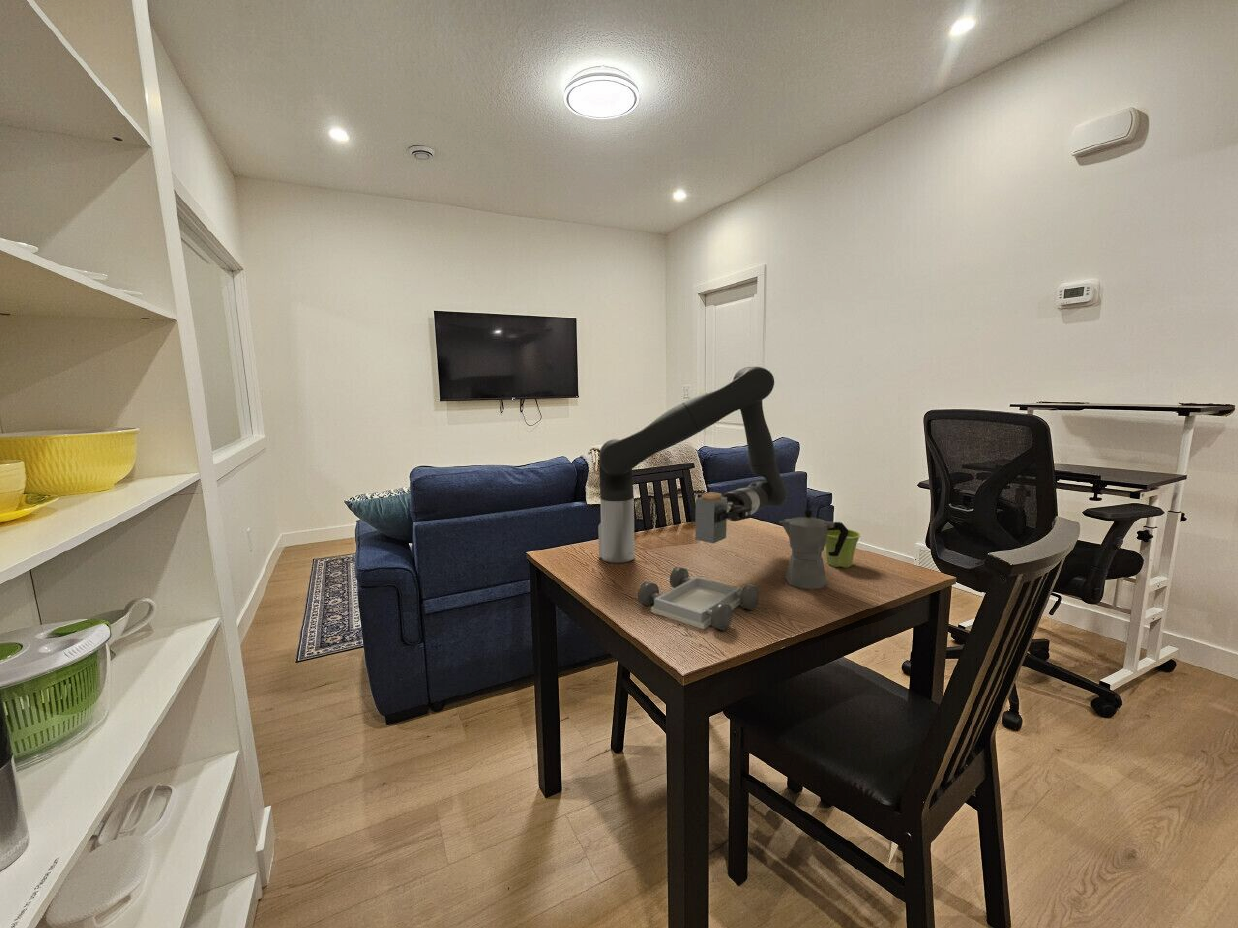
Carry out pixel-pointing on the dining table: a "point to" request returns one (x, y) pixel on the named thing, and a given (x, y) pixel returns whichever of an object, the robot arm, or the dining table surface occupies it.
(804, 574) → the coffeepot
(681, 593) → the chassis
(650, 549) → the dining table surface
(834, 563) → the plant pot
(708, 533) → the tall block with cap
